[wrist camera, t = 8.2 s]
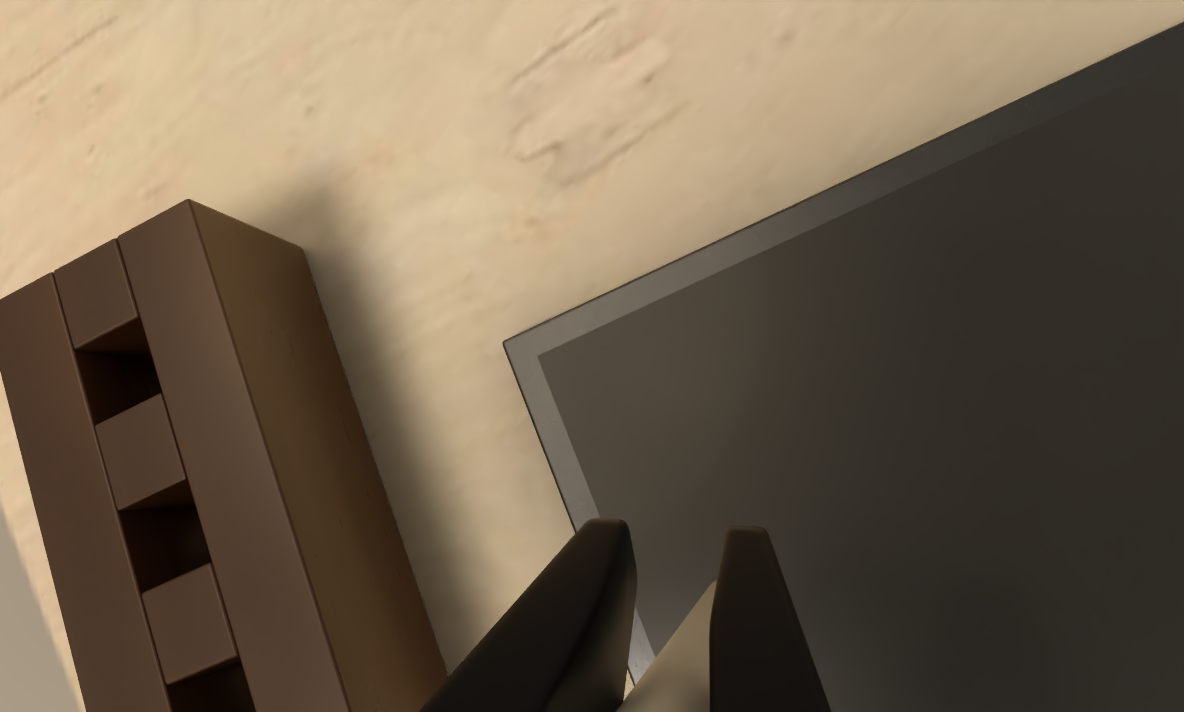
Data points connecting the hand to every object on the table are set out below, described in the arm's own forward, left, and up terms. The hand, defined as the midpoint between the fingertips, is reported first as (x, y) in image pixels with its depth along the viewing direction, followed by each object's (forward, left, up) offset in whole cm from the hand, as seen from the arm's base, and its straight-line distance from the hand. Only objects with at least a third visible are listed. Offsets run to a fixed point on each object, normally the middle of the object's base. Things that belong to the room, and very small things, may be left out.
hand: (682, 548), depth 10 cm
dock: (+5, +13, -14) cm, 19 cm away
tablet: (-1, -6, -14) cm, 15 cm away
